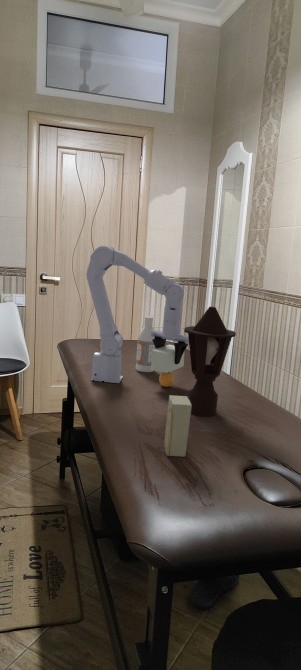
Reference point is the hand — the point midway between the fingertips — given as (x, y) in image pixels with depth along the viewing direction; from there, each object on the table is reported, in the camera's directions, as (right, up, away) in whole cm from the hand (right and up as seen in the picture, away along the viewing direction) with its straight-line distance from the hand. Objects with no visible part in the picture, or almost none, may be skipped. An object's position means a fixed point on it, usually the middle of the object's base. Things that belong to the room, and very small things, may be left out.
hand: (168, 361), depth 156 cm
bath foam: (-8, -4, +19) cm, 21 cm away
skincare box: (0, -18, -49) cm, 52 cm away
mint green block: (0, -2, 0) cm, 2 cm away
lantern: (+9, -13, -21) cm, 26 cm away
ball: (-1, -6, 0) cm, 6 cm away
